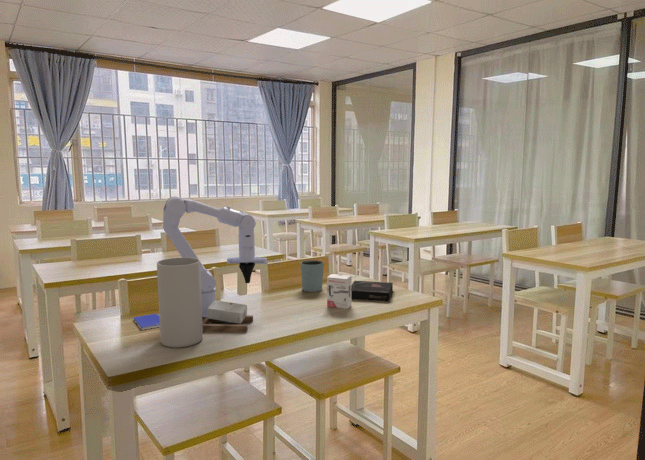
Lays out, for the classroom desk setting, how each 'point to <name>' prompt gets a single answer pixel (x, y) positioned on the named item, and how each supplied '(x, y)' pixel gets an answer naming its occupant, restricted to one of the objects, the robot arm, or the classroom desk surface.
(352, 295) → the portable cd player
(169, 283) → the cylinder vase
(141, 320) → the hard drive
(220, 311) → the skincare box
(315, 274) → the teal cup
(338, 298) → the ink box
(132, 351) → the classroom desk surface
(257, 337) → the classroom desk surface
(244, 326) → the u rest
